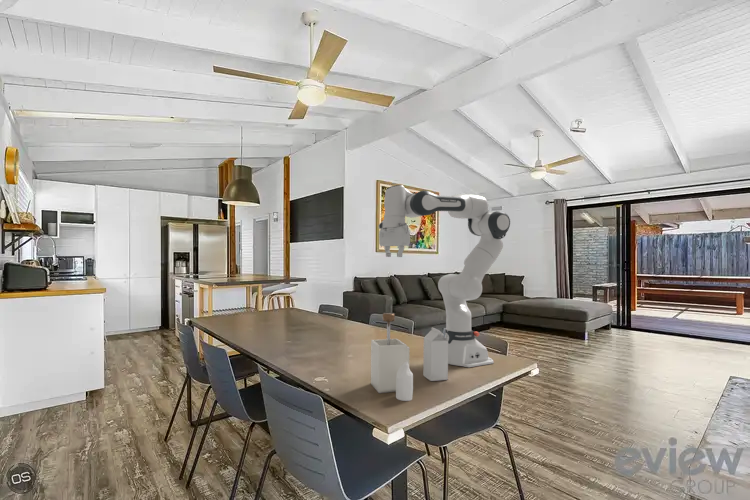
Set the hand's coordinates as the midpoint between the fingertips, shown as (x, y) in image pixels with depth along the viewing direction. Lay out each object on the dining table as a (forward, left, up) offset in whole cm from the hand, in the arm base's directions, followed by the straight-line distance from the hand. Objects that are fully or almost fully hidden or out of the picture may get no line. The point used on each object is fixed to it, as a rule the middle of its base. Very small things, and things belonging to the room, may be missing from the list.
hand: (393, 257), depth 157 cm
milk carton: (-12, +15, -47) cm, 51 cm away
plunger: (+9, +20, -36) cm, 42 cm away
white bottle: (+7, +31, -47) cm, 56 cm away
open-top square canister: (+7, +20, -47) cm, 51 cm away
